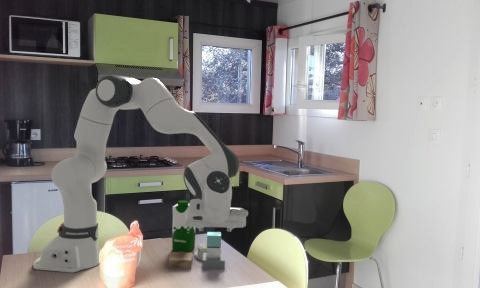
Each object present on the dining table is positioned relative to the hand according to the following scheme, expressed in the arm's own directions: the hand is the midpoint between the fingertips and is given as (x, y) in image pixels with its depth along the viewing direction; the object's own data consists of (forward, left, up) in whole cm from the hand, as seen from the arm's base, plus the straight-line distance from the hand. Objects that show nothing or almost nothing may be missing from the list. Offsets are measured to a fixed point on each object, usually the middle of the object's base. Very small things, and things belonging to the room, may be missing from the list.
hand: (215, 229), depth 149 cm
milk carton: (-12, +26, -16) cm, 33 cm away
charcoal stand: (0, +9, -16) cm, 18 cm away
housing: (0, +9, -13) cm, 16 cm away
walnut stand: (-12, +9, -16) cm, 22 cm away
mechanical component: (-2, +18, -16) cm, 24 cm away
